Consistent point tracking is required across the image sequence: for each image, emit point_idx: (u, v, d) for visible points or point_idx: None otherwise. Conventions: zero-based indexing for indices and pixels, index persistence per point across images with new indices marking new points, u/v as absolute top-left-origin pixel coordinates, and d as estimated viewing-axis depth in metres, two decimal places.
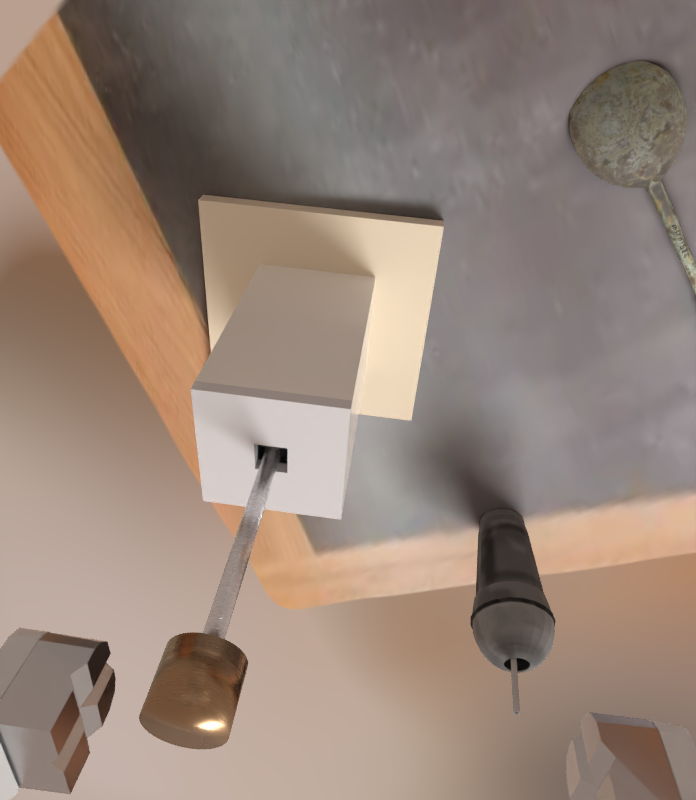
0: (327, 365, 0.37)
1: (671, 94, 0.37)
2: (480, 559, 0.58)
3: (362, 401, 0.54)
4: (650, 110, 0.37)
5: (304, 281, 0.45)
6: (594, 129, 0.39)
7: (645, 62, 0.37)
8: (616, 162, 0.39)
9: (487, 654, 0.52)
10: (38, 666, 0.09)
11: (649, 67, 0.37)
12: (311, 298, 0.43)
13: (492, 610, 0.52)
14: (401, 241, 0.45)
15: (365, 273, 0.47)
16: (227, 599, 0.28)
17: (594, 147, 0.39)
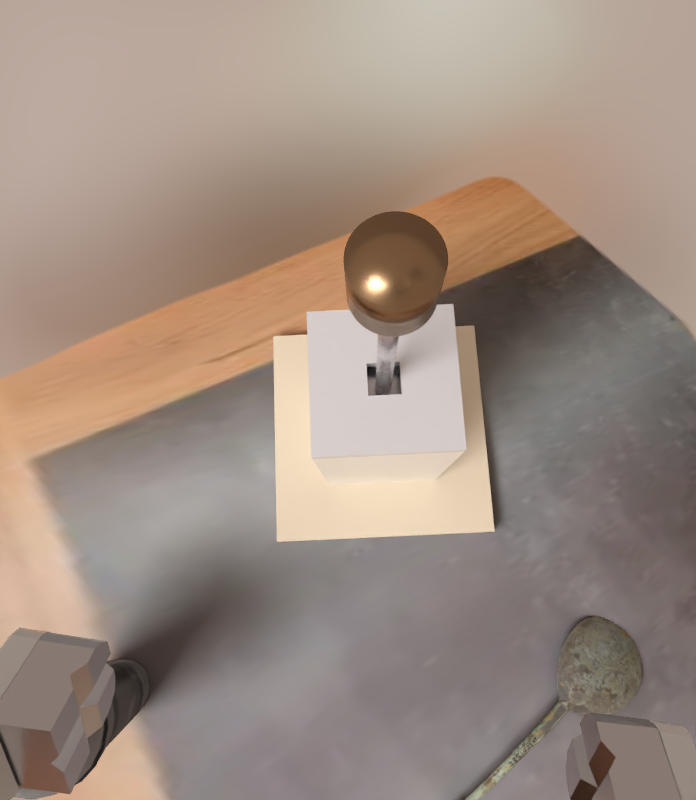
0: None
1: (632, 690, 0.47)
2: None
3: (293, 486, 0.52)
4: (621, 677, 0.47)
5: None
6: (595, 638, 0.48)
7: (640, 662, 0.49)
8: (580, 664, 0.47)
9: None
10: (38, 666, 0.09)
11: (640, 666, 0.48)
12: None
13: None
14: (473, 497, 0.51)
15: None
16: None
17: (584, 642, 0.48)
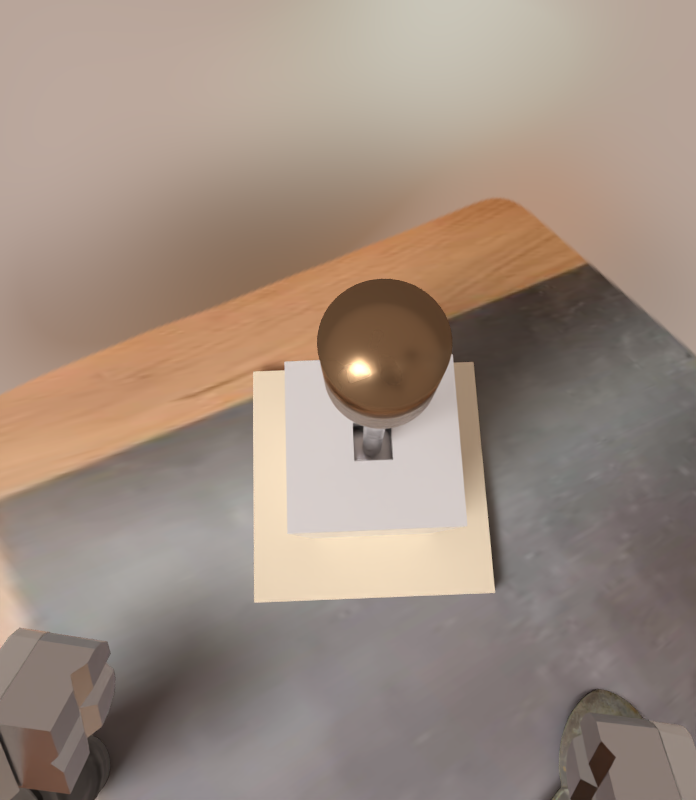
0: None
1: None
2: None
3: (272, 539, 0.47)
4: None
5: None
6: None
7: None
8: None
9: None
10: (38, 666, 0.09)
11: None
12: None
13: (26, 797, 0.33)
14: (471, 553, 0.46)
15: None
16: None
17: None
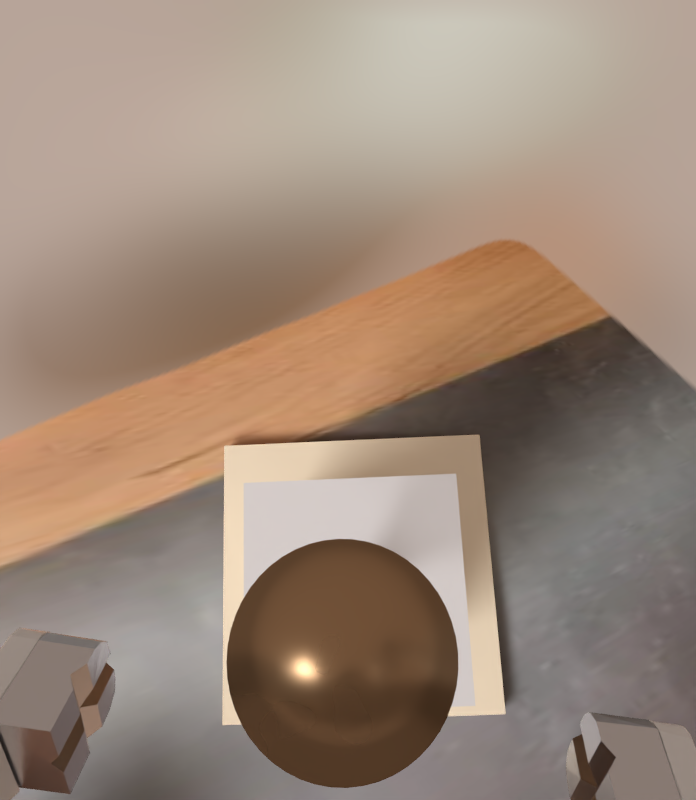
0: None
1: None
2: None
3: None
4: None
5: None
6: None
7: None
8: None
9: None
10: (38, 666, 0.09)
11: None
12: None
13: None
14: (478, 666, 0.39)
15: None
16: None
17: None
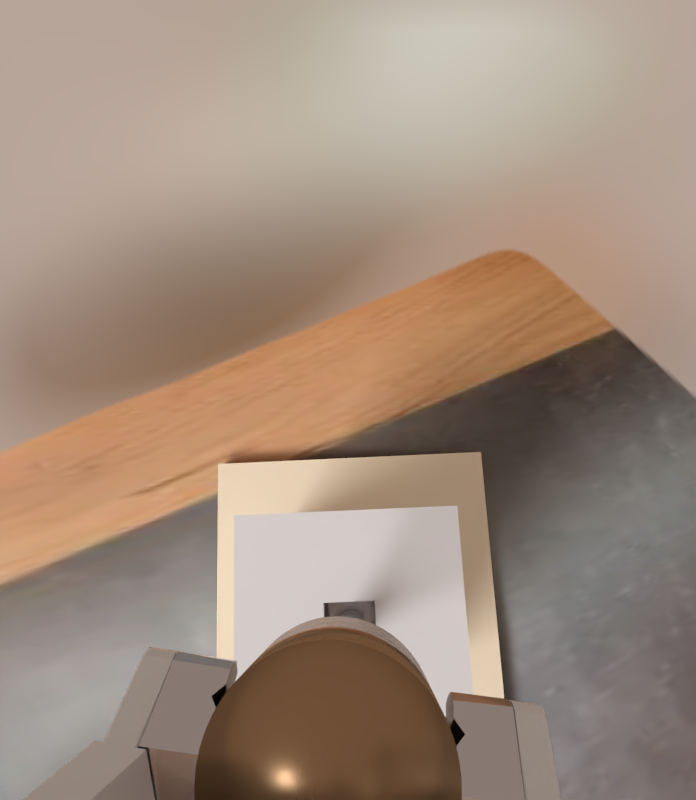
0: None
1: None
2: None
3: None
4: None
5: None
6: None
7: None
8: None
9: None
10: (178, 687, 0.09)
11: None
12: None
13: None
14: (480, 693, 0.38)
15: None
16: None
17: None
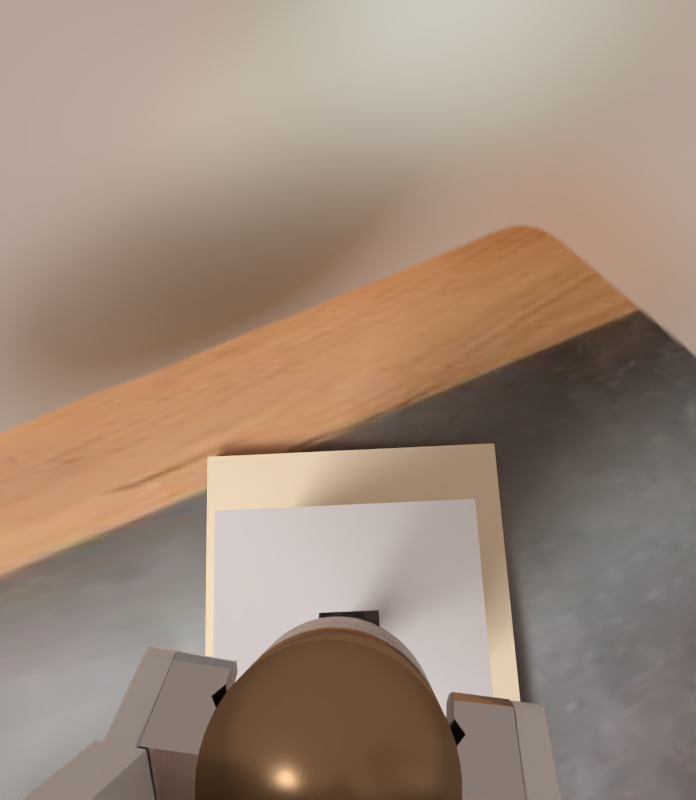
0: None
1: None
2: None
3: None
4: None
5: None
6: None
7: None
8: None
9: None
10: (178, 687, 0.09)
11: None
12: None
13: None
14: None
15: None
16: None
17: None
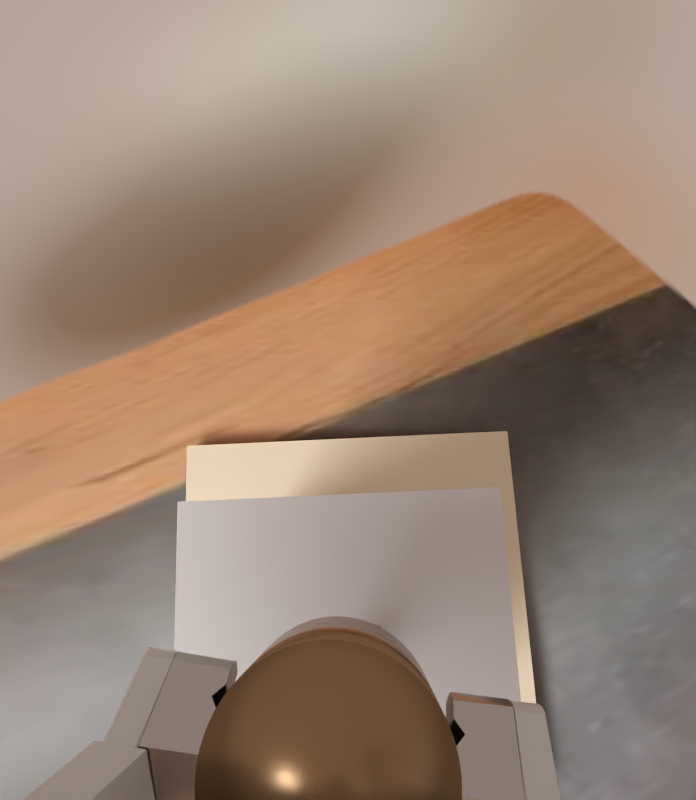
0: None
1: None
2: None
3: None
4: None
5: None
6: None
7: None
8: None
9: None
10: (178, 687, 0.09)
11: None
12: None
13: None
14: None
15: None
16: None
17: None
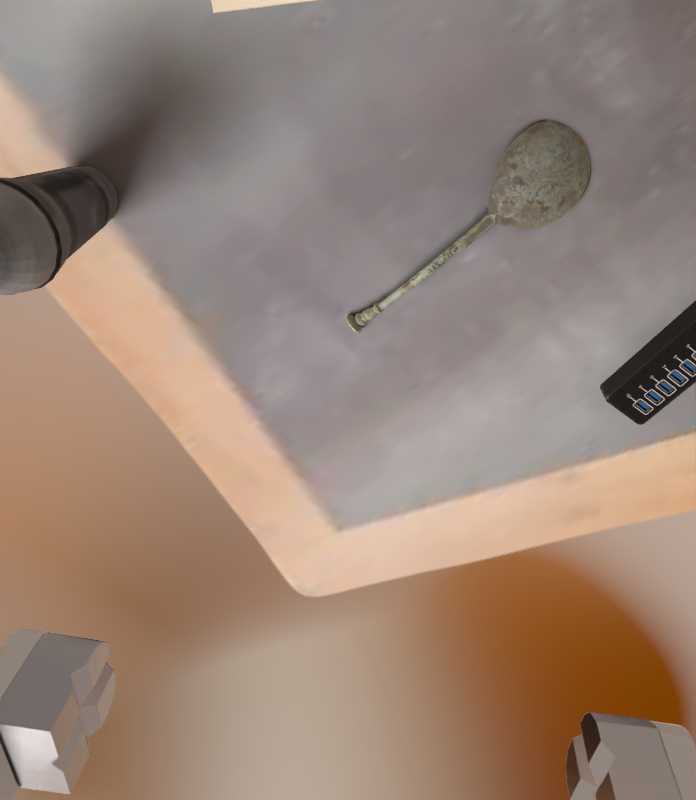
0: None
1: (569, 202, 0.44)
2: (51, 174, 0.42)
3: None
4: (558, 189, 0.43)
5: None
6: (541, 145, 0.42)
7: (589, 173, 0.44)
8: (515, 175, 0.42)
9: None
10: (38, 666, 0.09)
11: (587, 177, 0.43)
12: None
13: (20, 199, 0.36)
14: None
15: None
16: None
17: (526, 151, 0.42)
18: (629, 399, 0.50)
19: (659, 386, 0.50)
